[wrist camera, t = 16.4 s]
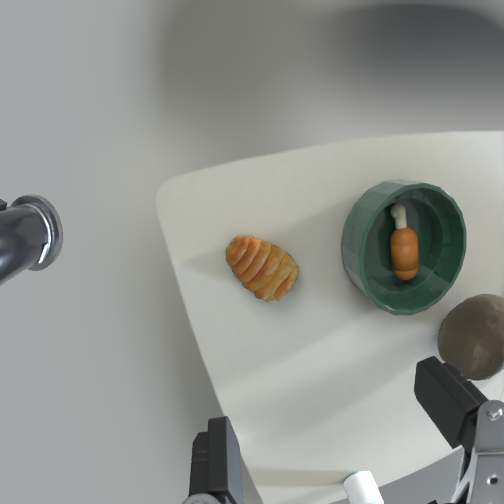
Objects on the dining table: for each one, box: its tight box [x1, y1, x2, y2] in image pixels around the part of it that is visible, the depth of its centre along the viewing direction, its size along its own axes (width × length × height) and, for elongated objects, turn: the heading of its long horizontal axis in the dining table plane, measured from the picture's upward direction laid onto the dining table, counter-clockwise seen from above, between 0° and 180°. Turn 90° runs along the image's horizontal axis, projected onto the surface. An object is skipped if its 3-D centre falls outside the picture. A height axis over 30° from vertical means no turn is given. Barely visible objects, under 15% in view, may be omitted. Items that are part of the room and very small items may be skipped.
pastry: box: [226, 236, 299, 302], centre depth 39 cm, size 9×7×4 cm
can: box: [343, 471, 383, 504], centre depth 51 cm, size 7×7×12 cm
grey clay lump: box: [438, 294, 504, 381], centre depth 39 cm, size 14×14×15 cm
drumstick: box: [390, 203, 419, 280], centre depth 39 cm, size 11×4×4 cm, turn 12°
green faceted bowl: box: [342, 180, 466, 315], centre depth 39 cm, size 17×17×6 cm
